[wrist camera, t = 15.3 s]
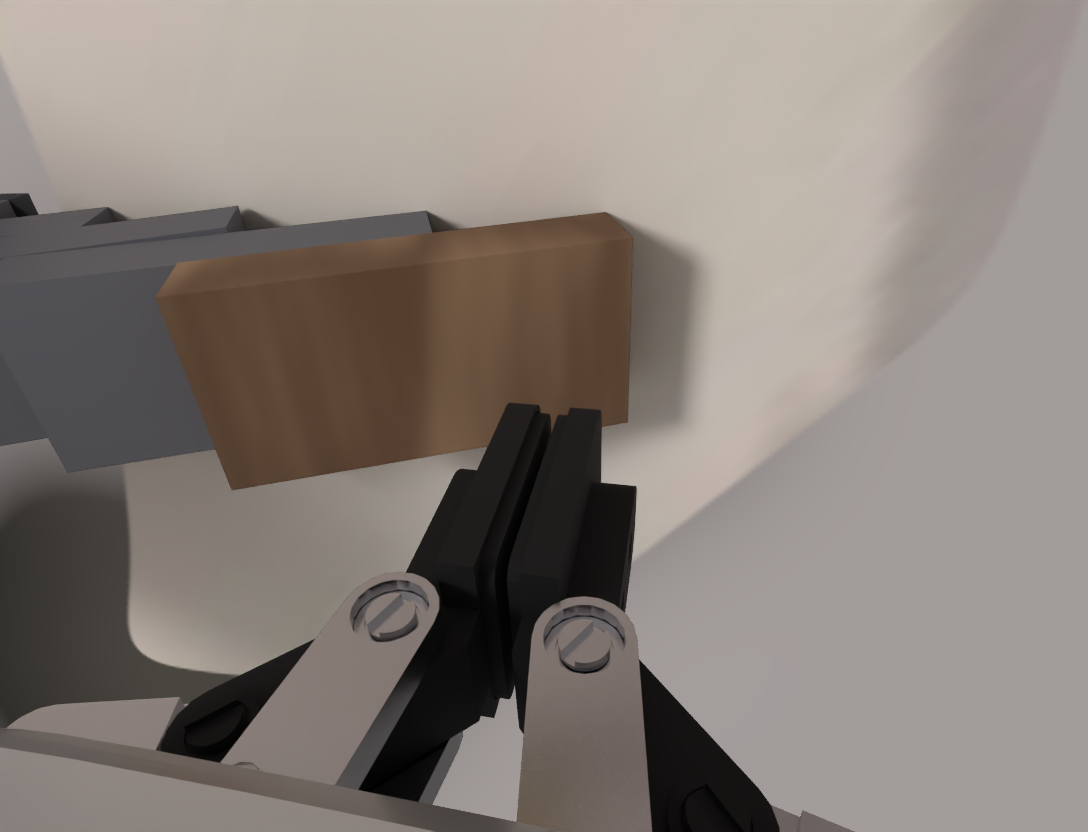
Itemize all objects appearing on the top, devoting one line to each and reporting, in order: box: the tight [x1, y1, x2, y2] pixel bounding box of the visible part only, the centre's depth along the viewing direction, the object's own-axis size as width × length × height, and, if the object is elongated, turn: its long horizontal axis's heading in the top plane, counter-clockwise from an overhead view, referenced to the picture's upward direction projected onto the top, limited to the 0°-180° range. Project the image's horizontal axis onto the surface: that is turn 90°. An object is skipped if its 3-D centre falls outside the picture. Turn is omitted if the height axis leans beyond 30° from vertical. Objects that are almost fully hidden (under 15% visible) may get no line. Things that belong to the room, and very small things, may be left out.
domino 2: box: [0, 211, 432, 473], centre depth 17 cm, size 2×5×10 cm
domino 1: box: [0, 206, 246, 446], centre depth 18 cm, size 2×5×10 cm
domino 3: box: [155, 212, 633, 490], centre depth 16 cm, size 2×5×10 cm
